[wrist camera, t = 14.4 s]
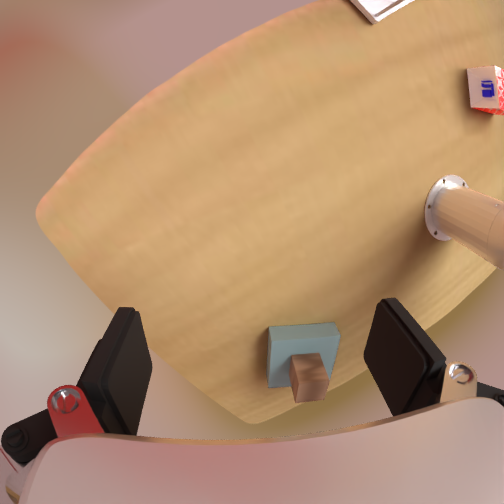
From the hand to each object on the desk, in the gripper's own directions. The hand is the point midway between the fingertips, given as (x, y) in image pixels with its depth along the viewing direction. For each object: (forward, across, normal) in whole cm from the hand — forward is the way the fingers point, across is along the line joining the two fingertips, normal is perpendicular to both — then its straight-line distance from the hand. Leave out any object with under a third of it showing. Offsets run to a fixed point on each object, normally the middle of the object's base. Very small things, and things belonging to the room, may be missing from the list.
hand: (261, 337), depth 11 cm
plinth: (+32, -11, +30) cm, 45 cm away
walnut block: (+28, -11, +30) cm, 43 cm away
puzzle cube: (+33, -46, -22) cm, 60 cm away
